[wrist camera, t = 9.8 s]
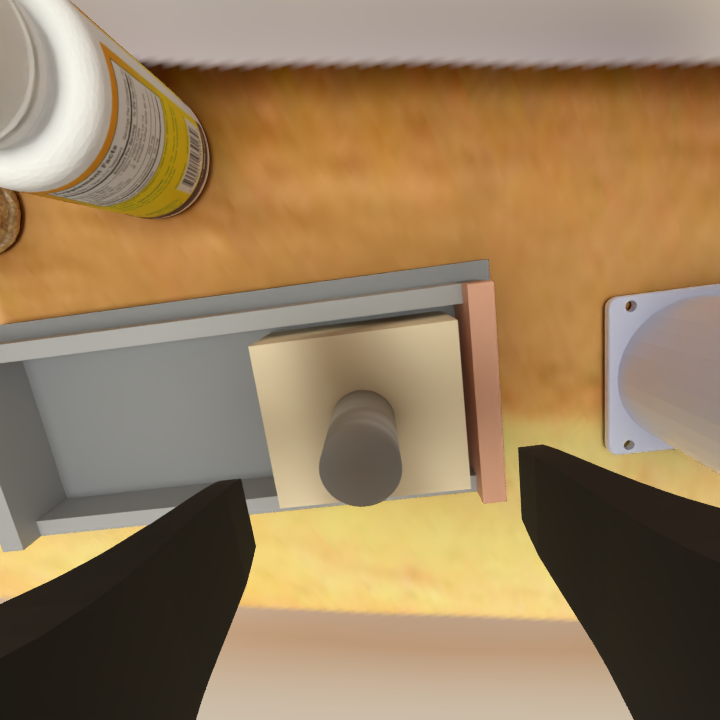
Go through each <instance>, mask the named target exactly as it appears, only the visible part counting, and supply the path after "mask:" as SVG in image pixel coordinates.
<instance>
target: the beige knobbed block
mask: <svg viewBox="0 0 720 720" xmlns="http://www.w3.org/2000/svg"><path fill="white" fill-rule="evenodd" d="M248 348H249V353H250V359H251V364H252V369H253V374H254V379H255V384H256V389H257V394H258V399H259V404H260V409H261V415H262V420H263V425H264V430H265V435H266V440H267V445H268V450H269V455H270V460H271V465H272V470H273V476H274V481H275V486H276V491H277V496H278V501H279V506H280V509H281V508H291V507H300V506H310V505H320V504H330V503H339V502H343V503H345V504H348V505H352V506H360V507H362V506H371V505H374V504H377V503H380V502H382V501H384V500H385V499H387V498H388V497H398V496H407V495H417V494H427V493H437V492H446V491H456V490H466V489H471V481H470V468H469V456H468V443H467V431H466V418H465V406H464V393H463V381H462V368H461V356H460V343H459V331H458V320H457V319H455V318H453V317H452V316H450V315H448V314H447V313H445V312H443V311H433V312H425V313H417V314H410V315H402V316H394V317H386V318H379V319H371V320H363V321H355V322H347V323H340V324H332V325H324V326H316V327H309V328H301V329H293V330H285V331H278V332H271V333H269V334H268V335H266V336H264V337H263V338H261V339H260V340H258V341H256V342H255V343H253V344H252V345H250V346H248Z"/></svg>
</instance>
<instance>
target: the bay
mask: <svg viewBox="0 0 720 720" xmlns="http://www.w3.org/2000/svg"><path fill="white" fill-rule="evenodd" d="M433 311H443V312H445V313H447V314H448V315H450V316H452V317H453V318H455V319H457V320H458V331H459V343H460V356H461V368H462V381H463V393H464V406H465V418H466V431H467V443H468V456H469V468H470V481H471V489H466V490H456V491H446V492H437V493H427V494H417V495H407V496H398V497H388V498H387V499H385V500H384V501H387V500H397V499H407V498H417V497H426V496H436V495H446V494H456V493H465V492H475V491H478V494H479V496H480V498H481V500H482V502H483V504H486V503H496V502H506V501H507V497H506V480H505V463H504V446H503V429H502V412H501V395H500V378H499V361H498V344H497V327H496V311H495V294H494V281H490V274H489V259H486V260H477V261H470V262H462V263H455V264H448V265H440V266H433V267H425V268H418V269H411V270H403V271H396V272H388V273H381V274H374V275H366V276H359V277H351V278H344V279H337V280H329V281H322V282H314V283H307V284H300V285H292V286H285V287H277V288H270V289H263V290H255V291H248V292H240V293H233V294H226V295H218V296H211V297H203V298H196V299H189V300H181V301H174V302H166V303H159V304H152V305H144V306H137V307H129V308H122V309H115V310H107V311H100V312H92V313H85V314H78V315H70V316H63V317H55V318H48V319H41V320H33V321H26V322H19V323H11V324H4V325H0V545H1V547H2V550H3V552H8V551H18V550H24V549H25V548H27V547H28V546H29V545H30V544H32V543H33V542H34V541H35V540H37V539H38V538H39V537H40V536H45V535H55V534H65V533H75V532H84V531H94V530H104V529H114V528H124V527H133V526H143V525H149V524H151V523H152V522H154V521H156V520H157V519H159V518H160V517H162V516H163V515H165V514H166V513H168V512H169V511H171V510H172V509H174V508H175V507H177V506H178V505H180V504H181V503H183V502H184V501H186V500H187V499H189V498H190V497H192V496H193V495H195V494H196V493H198V492H200V491H201V490H203V489H205V488H206V487H208V486H210V485H211V484H213V483H215V482H218V481H223V480H232V479H241V480H242V485H243V489H244V494H245V499H246V503H247V508H248V512H249V515H251V514H260V513H270V512H280V511H290V510H299V509H309V508H319V507H329V506H338V505H348V504H345V503H343V502H339V503H330V504H320V505H310V506H300V507H291V508H281V509H280V506H279V501H278V496H277V491H276V486H275V481H274V476H273V470H272V465H271V460H270V455H269V450H268V445H267V440H266V435H265V430H264V425H263V420H262V415H261V409H260V404H259V399H258V394H257V389H256V384H255V379H254V374H253V369H252V364H251V359H250V353H249V348H248V346H250V345H252V344H253V343H255V342H256V341H258V340H260V339H261V338H263V337H264V336H266V335H268V334H269V333H271V332H278V331H285V330H293V329H301V328H309V327H316V326H324V325H332V324H340V323H347V322H355V321H363V320H371V319H379V318H386V317H394V316H402V315H410V314H417V313H425V312H433Z"/></svg>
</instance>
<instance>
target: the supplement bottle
mask: <svg viewBox="0 0 720 720" xmlns="http://www.w3.org/2000/svg"><path fill="white" fill-rule="evenodd" d="M208 172H209V148H208V143H207V140H206V136H205V133H204V131H203V128H202V126H201V124H200V122H199V121H198V119H197V117H196V116H195V114H194V113H193V112H192V110H191V109H190V108H189V107H188V106H187V105H186V104H185V103H184V102H183V101H182V100H181V99H180V98H179V97H178V96H177V95H176V94H175V93H174V92H172V91H171V90H170V89H169V88H168V87H167V86H166V85H165V84H163V83H162V82H161V81H160V80H159V79H158V78H157V77H155V76H154V75H153V74H152V73H151V72H150V71H149V70H147V69H146V68H145V67H144V66H143V65H142V64H141V63H139V62H138V61H137V60H136V59H135V58H134V57H133V56H132V55H131V54H129V53H128V52H127V51H126V50H125V49H124V48H123V47H121V46H120V45H119V44H118V43H117V42H116V41H115V40H114V39H112V38H111V37H110V36H109V35H108V34H107V33H106V32H105V31H103V30H102V29H101V28H100V27H99V26H98V25H97V24H96V23H94V22H93V21H92V20H91V19H90V18H89V17H88V16H87V15H85V14H84V13H83V12H82V11H81V10H80V9H79V8H78V7H76V6H75V5H74V4H73V3H72V2H71V1H70V0H0V187H2V188H6V189H9V190H14V191H18V192H23V193H28V194H33V195H37V196H42V197H47V198H51V199H56V200H60V201H64V202H70V203H75V204H79V205H84V206H89V207H93V208H98V209H103V210H108V211H112V212H117V213H122V214H126V215H131V216H136V217H140V218H149V219H159V218H166V217H170V216H173V215H176V214H178V213H180V212H182V211H183V210H185V209H186V208H188V207H189V206H190V205H191V204H192V203H193V202H194V201H195V200H196V199H197V198H198V196H199V195H200V193H201V192H202V190H203V188H204V185H205V183H206V180H207V177H208Z"/></svg>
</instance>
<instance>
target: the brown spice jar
mask: <svg viewBox="0 0 720 720" xmlns="http://www.w3.org/2000/svg"><path fill="white" fill-rule="evenodd" d="M20 216H21V211H20V209H19V202H18V200H17V197H16V194H15V192H14V191H13V190H9V189H6V188H2V187H0V253H1V252H3V251H4V250H6V249H7V248H8V247H10V246H11V245H12V244H13V243H14V242H15V241H16V237H17V234H18V233H19V229H20Z"/></svg>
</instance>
